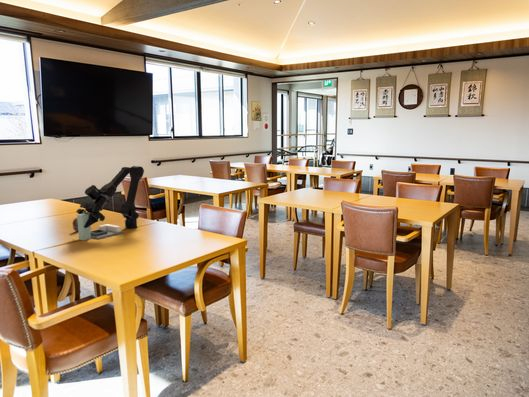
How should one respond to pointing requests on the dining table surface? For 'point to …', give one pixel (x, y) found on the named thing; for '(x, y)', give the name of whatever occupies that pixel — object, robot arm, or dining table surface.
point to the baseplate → (106, 231)
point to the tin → (75, 224)
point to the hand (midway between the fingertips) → (81, 227)
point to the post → (83, 232)
